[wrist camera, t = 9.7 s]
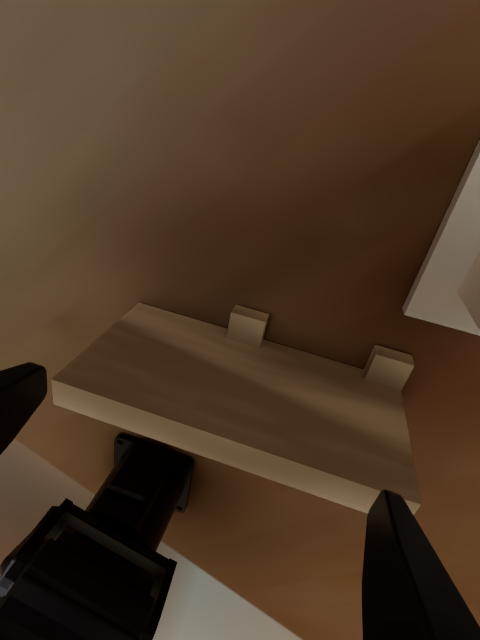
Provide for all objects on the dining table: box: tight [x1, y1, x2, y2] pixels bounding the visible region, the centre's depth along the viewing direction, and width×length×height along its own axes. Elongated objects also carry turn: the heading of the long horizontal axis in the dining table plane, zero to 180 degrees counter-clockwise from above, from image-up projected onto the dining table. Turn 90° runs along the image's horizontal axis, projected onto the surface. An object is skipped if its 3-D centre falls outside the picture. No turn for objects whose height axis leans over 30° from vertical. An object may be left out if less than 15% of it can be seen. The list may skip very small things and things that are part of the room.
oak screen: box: [51, 303, 421, 515], centre depth 19 cm, size 5×16×8 cm, turn 80°
